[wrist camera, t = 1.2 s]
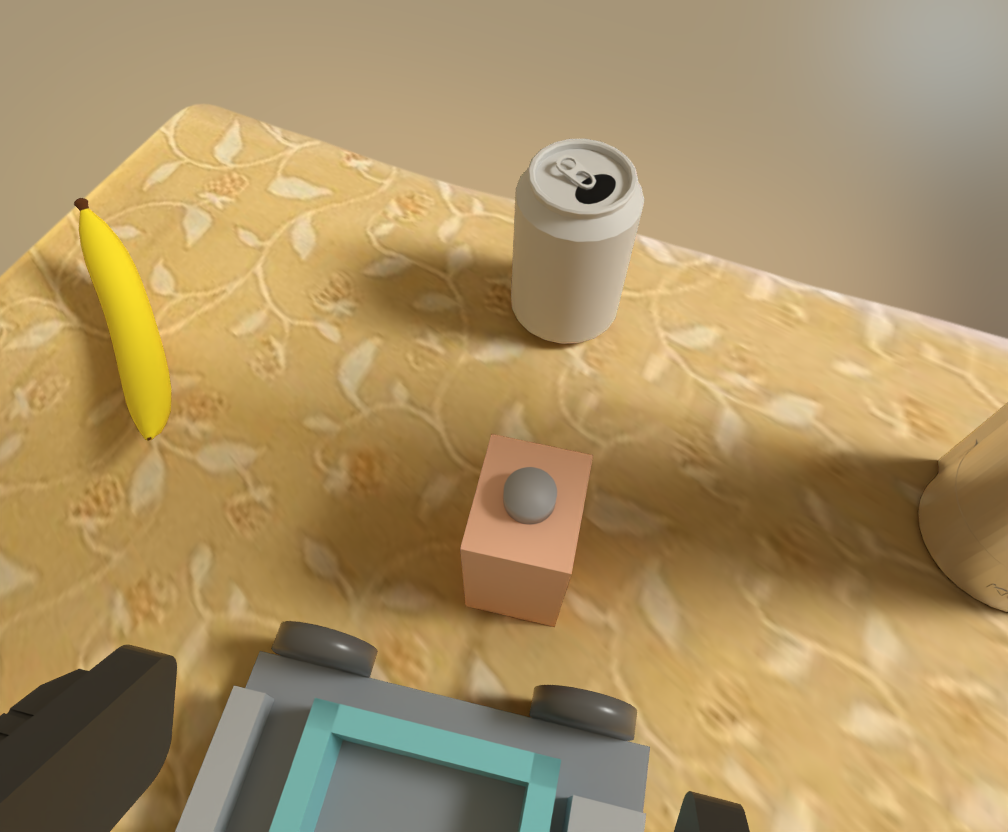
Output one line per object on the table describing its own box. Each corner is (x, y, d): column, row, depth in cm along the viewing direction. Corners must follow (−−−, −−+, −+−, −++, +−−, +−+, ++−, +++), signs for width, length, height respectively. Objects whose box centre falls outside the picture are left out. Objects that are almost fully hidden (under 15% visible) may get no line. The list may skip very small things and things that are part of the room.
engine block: (490, 508, 42) (491, 423, 33) (573, 526, 41) (595, 445, 33) (465, 606, 39) (459, 540, 30) (554, 626, 38) (573, 566, 30)
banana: (158, 488, 42) (108, 436, 37) (100, 271, 51) (54, 203, 45) (206, 469, 43) (165, 416, 37) (141, 259, 51) (101, 190, 46)
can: (570, 370, 47) (594, 239, 37) (488, 310, 49) (488, 172, 39) (637, 306, 50) (676, 169, 40) (556, 253, 52) (573, 110, 42)
